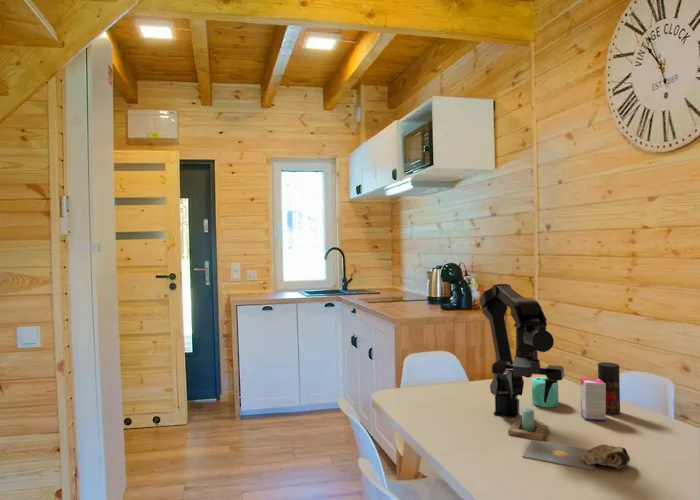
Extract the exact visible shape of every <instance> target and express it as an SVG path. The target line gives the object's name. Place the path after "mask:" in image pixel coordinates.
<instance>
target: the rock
mask: <svg viewBox="0 0 700 500" xmlns="http://www.w3.org/2000/svg"><path fill="white" fill-rule="evenodd" d="M579 457H580V458H581V459H582V460H584V461H585V462H586V463H587V464H588V465H594V464H595V465H596V464H598V465H601V466H602V465H603V466H608V467H613V468H614V469H618V470H620V469H623V467H624V468H626V467H628V464H629V463H630V461H631V457H630V455H629V453H628V451H627V449H626V448H625V447H622V446H615V445H614V446H613V445H607V444H599V445H597V446H594V447H592V448H590V450H588V451H585V452H584V453H583V454H580V455H579Z"/></svg>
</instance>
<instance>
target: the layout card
mask: <svg viewBox="0 0 700 500" xmlns="http://www.w3.org/2000/svg"><path fill="white" fill-rule="evenodd" d="M590 449H591V448H590ZM590 449H589V448H583V447H578V446H572V445H565V444H560V443H555V442H548V441H544V440H537V439H531V440H530V442H529V443H528V446H527V447H526V449H525V451H524V453H523V454H522V458H523V459H530V460H536V461H541V462H546V463H551V464H556V465H562V466H567V467H568V466H569V467H572V468H578V469H584V470H588V471H595V467H596V464H594V465H588V464H587V463H586V462H585V461H584V460H582V459H581V458H580V457H579V455H580V454H583V453H584V452H585V451H588V450H590Z"/></svg>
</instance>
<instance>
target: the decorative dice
mask: <svg viewBox="0 0 700 500" xmlns="http://www.w3.org/2000/svg"><path fill="white" fill-rule="evenodd" d="M546 378H547V377H546V376H536V377H533V378H532V379H531V397H532V398H531V400H532V404H534V405H535V406H537V407H543V408H556V407H557V406H559V399H560V398H559V381H558V382H557V383H553V385H552V387H551V390H550V393H549V396H548V399H547V402H546V403H544V393H545V380H546Z"/></svg>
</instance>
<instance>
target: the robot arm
mask: <svg viewBox="0 0 700 500" xmlns="http://www.w3.org/2000/svg"><path fill="white" fill-rule="evenodd" d="M479 297H480V298H479V305H480V307H481V310H482V314H483V315H484V316H485V317H486V319H488V321H489V325H490V326H489V327H490V331H491V336H492V343H493V349H494V353H495V359H496V361H495V362H494V363H492V364H491V373H492V374H493V378H492V380H491V382H490V385H489V390H490V393H491V394H492V395H494V412H493V415H494V416H501V417H508V418H516V417H517V416H518V414H520V399H519V398H518V396H522V395H523V393H524V384H525V380H524V378H523V377H525V378H528V379H529V378H531V377H533V375H543V376H545V377H547V378H546V380H545V393H544V403H546V402H547V399H548V396H549V393H550V390H551V387H552V385H553V383H557V382H558V383H559V381H562V380H563V379H564V377H565V368H564V367H563V366H561V365H552V364H548V365H547V367H541V362H540V359H539V353H547V352H549V351H550V350H552V348H553V346H554V343H555V339H554V338H553V335H552V334H551V333H550V332H549V331H547V326H548V324H547V321H548V320H547V317H546V315H545V314H544V311H543V309H542V306H541V304H540V303H539V302H538V301H537V300H535V299H533V298H526V297H523V296H522V295H521V294H519V293H518V292H517V291H516V290H514V289H513V288H512V287H511V285H510V284H508V283H496V284H493V285H491V287H490V288H489V289H487V290H485V291H483V292H482V294H481V295H480V296H479ZM508 308H509V309H510V314H509V315H511V317H512V319H513V321H514V324H513V327H514V328H515V348H516V349H515V356H514V359H513V357H512V352H511V347H510V342H509V336H508V331H507V330H508V329H507V327H506V326H507V325H506V321H505V316H506V313H507V312H508Z"/></svg>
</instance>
